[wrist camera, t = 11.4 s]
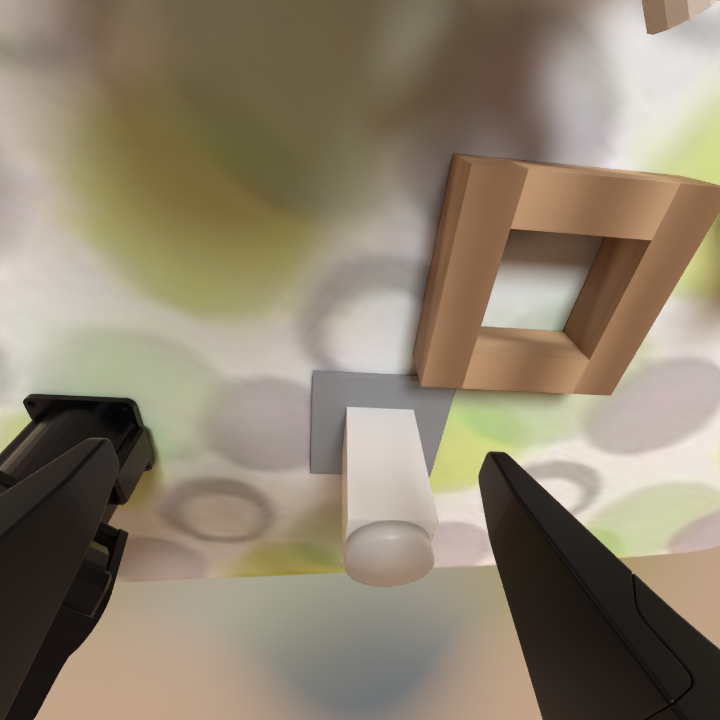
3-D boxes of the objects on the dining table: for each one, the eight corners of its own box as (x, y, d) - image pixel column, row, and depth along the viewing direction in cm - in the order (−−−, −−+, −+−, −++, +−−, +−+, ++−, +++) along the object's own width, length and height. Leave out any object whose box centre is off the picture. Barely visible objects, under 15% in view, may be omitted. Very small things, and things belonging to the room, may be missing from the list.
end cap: (342, 453, 27) (341, 586, 20) (346, 406, 25) (348, 539, 18) (403, 455, 28) (425, 587, 20) (413, 409, 25) (442, 540, 18)
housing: (412, 355, 24) (421, 386, 21) (453, 153, 17) (471, 163, 15) (583, 365, 24) (610, 395, 22) (680, 175, 18) (733, 188, 16)
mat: (311, 466, 29) (310, 473, 29) (313, 370, 24) (312, 376, 23) (428, 470, 30) (429, 476, 29) (455, 377, 25) (457, 383, 24)
